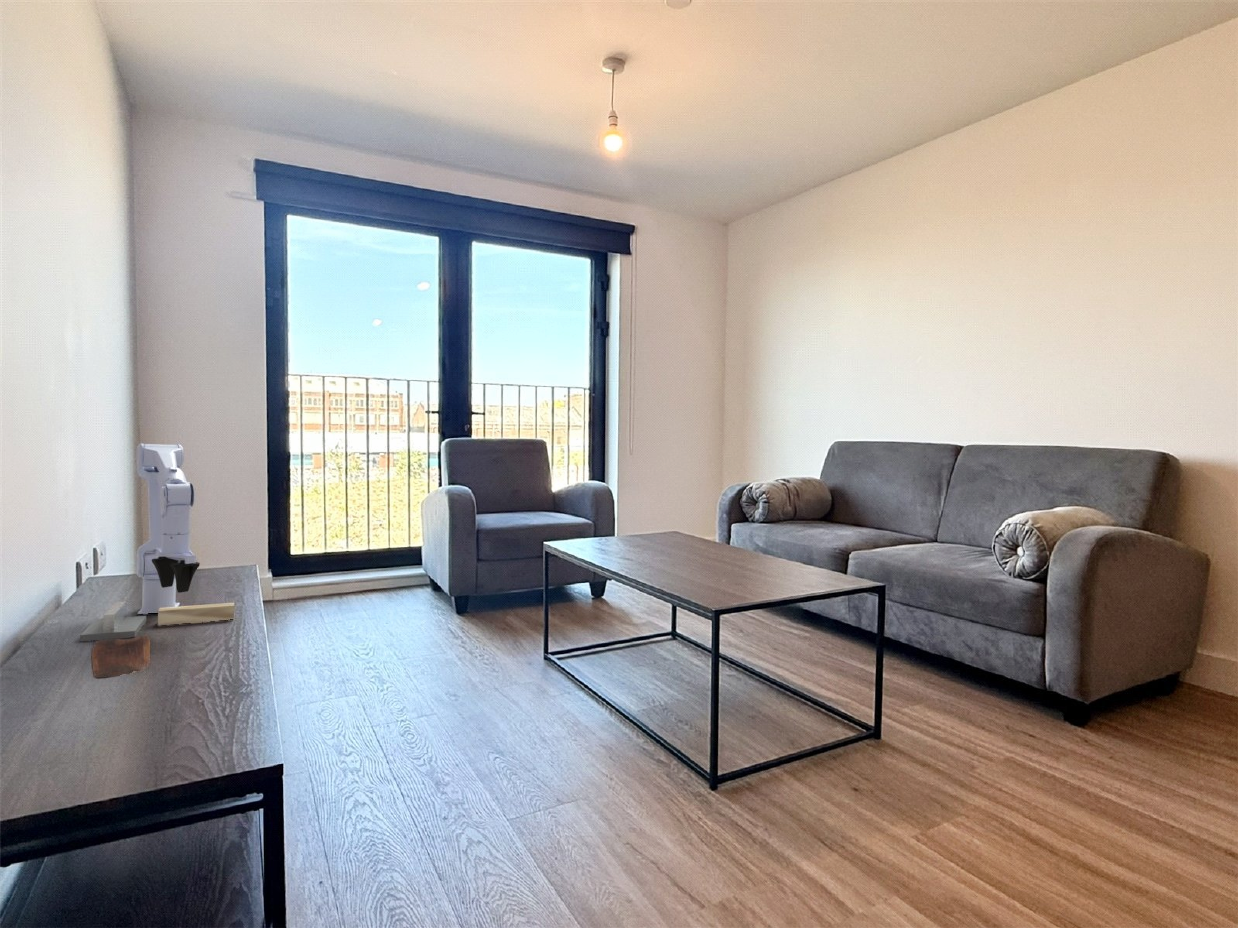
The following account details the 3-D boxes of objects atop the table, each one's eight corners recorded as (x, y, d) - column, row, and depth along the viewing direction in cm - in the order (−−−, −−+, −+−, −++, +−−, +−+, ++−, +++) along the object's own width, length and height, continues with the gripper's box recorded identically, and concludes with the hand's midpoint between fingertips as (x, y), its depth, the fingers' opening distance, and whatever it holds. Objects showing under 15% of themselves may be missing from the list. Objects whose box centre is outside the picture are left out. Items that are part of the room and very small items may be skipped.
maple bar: (159, 623, 164) (159, 607, 164) (233, 617, 172) (234, 602, 172) (157, 627, 161) (158, 611, 161) (233, 621, 169) (234, 605, 169)
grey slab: (96, 625, 160) (96, 619, 160) (146, 621, 164) (146, 615, 164) (80, 641, 147) (80, 635, 147) (134, 637, 152) (135, 631, 152)
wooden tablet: (151, 667, 131) (87, 669, 125) (149, 678, 131) (85, 681, 125) (150, 633, 153) (96, 634, 147) (148, 643, 153) (94, 644, 147)
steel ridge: (116, 618, 161) (116, 601, 161) (126, 617, 162) (126, 601, 162) (103, 632, 150) (103, 615, 150) (113, 631, 151) (114, 614, 150)
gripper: (142, 531, 159) (141, 587, 160) (173, 538, 152) (171, 597, 152) (174, 528, 165) (173, 582, 166) (205, 535, 158) (204, 591, 158)
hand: (174, 589), depth 160 cm, fingers open, 7 cm apart
